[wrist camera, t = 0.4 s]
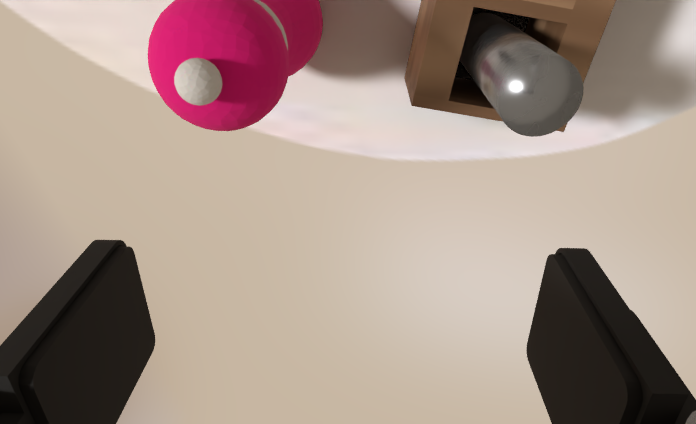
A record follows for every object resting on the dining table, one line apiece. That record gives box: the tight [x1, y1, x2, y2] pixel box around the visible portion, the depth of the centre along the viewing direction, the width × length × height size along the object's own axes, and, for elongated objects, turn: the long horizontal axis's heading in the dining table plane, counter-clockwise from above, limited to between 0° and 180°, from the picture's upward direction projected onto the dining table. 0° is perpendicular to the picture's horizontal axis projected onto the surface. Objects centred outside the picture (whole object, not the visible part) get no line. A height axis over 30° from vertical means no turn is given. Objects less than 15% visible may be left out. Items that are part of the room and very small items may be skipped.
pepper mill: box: [148, 0, 323, 131], centre depth 27 cm, size 7×7×20 cm
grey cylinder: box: [459, 13, 583, 136], centre depth 30 cm, size 4×4×14 cm
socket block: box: [405, 0, 616, 132], centre depth 32 cm, size 12×10×7 cm
